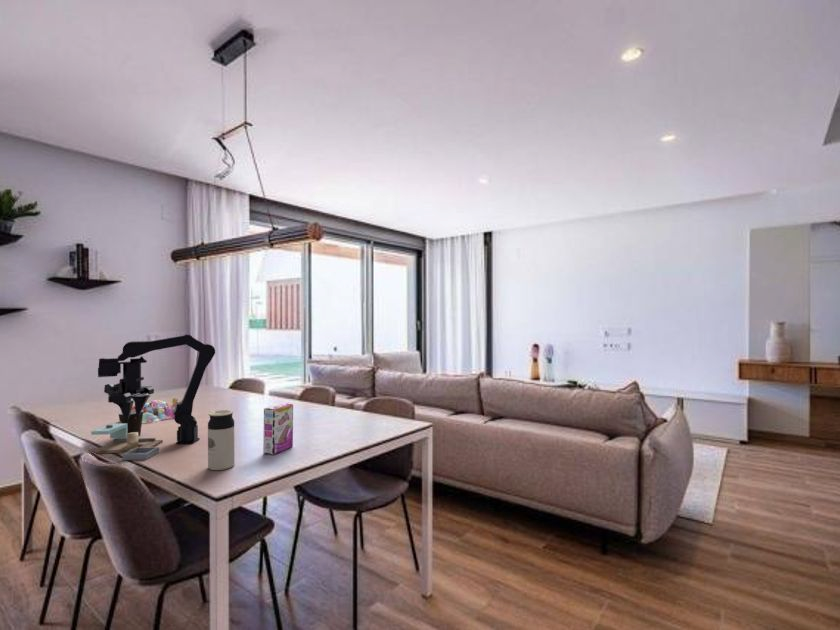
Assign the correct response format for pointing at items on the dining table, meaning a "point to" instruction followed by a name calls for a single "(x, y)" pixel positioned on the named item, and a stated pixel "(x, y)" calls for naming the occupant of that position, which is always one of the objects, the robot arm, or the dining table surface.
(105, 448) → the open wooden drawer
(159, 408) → the pastel sphere sculpture
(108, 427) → the teal lid
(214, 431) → the travel mug
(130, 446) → the maple peg
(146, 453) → the slate tray
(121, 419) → the coffee mug
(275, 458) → the dining table surface
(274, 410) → the candy bar box
